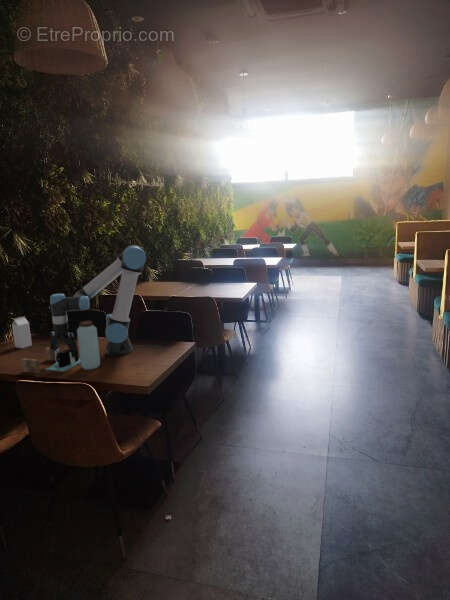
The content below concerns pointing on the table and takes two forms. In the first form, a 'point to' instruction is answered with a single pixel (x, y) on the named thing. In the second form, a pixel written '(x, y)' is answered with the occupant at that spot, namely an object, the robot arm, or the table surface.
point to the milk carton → (21, 332)
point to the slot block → (32, 364)
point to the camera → (65, 358)
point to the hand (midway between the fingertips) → (65, 362)
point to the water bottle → (88, 345)
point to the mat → (63, 369)
